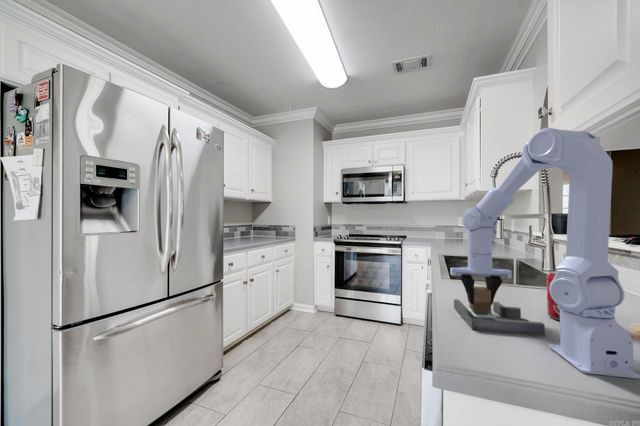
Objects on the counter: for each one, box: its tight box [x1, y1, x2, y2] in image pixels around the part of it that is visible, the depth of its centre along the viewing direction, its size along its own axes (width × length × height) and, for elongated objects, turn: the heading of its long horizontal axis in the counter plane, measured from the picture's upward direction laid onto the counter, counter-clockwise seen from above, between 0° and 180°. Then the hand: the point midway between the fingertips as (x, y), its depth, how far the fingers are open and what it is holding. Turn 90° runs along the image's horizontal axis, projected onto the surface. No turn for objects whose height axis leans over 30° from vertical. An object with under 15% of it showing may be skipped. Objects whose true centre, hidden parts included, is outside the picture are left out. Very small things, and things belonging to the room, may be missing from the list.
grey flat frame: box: [453, 298, 546, 337], centre depth 68 cm, size 15×15×2 cm
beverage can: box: [546, 270, 560, 321], centre depth 69 cm, size 6×6×12 cm
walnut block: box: [468, 285, 492, 314], centre depth 73 cm, size 4×4×6 cm
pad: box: [466, 307, 498, 319], centre depth 72 cm, size 6×6×1 cm
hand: (480, 303), depth 72 cm, fingers closed on walnut block, 4 cm apart
